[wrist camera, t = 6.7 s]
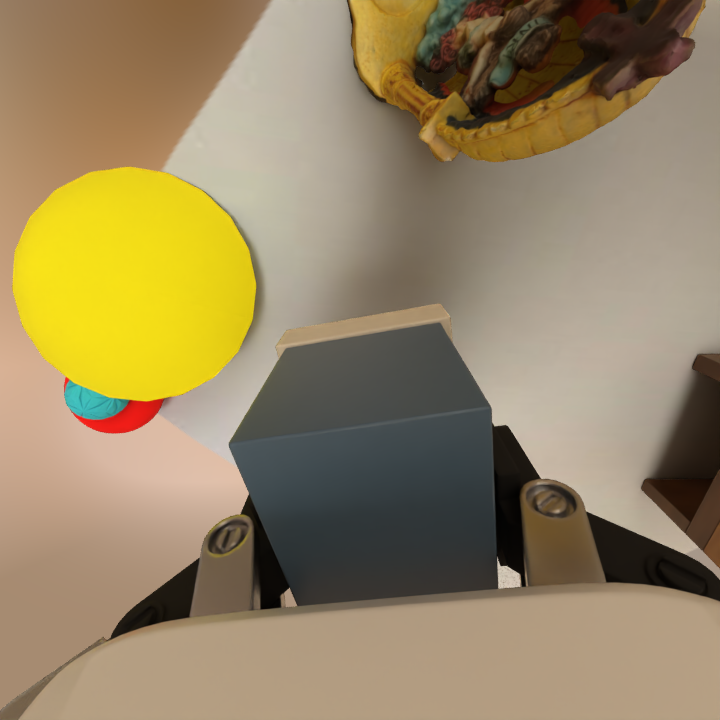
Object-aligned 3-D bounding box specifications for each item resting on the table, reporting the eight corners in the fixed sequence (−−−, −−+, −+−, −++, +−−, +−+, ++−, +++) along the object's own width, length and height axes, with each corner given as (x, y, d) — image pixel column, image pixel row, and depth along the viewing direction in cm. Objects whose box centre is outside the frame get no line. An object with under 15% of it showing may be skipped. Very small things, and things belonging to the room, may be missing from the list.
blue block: (285, 329, 11) (207, 442, 6) (441, 302, 11) (511, 398, 5) (341, 518, 15) (325, 696, 10) (459, 505, 15) (514, 685, 9)
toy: (3, 363, 25) (-291, 388, 13) (140, 157, 25) (-32, -5, 13) (175, 465, 26) (52, 568, 15) (305, 272, 26) (286, 221, 14)
